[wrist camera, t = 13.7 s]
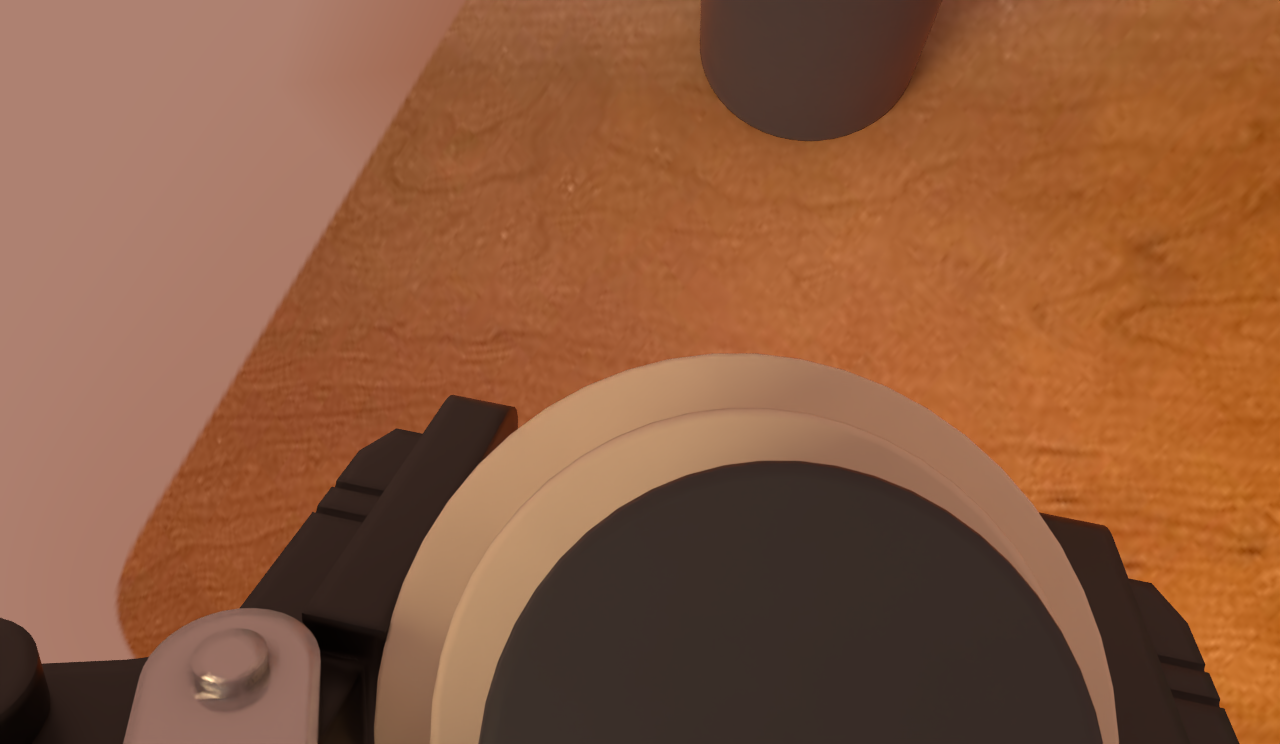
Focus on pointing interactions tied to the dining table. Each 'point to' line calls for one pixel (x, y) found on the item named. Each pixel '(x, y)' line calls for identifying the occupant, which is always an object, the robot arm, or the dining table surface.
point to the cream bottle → (741, 578)
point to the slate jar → (812, 60)
